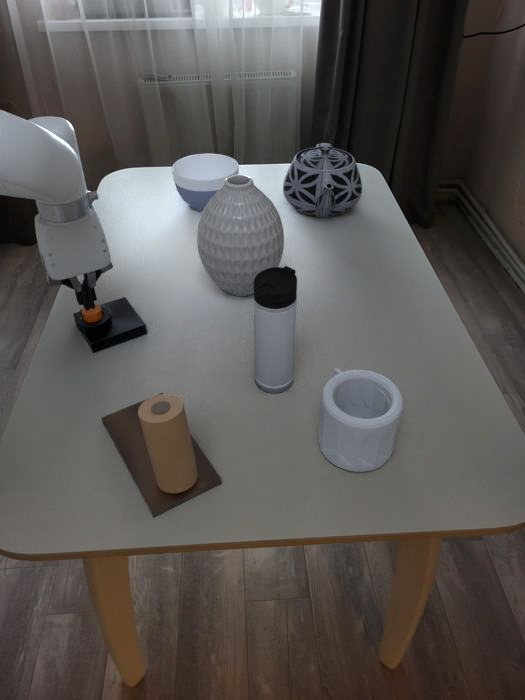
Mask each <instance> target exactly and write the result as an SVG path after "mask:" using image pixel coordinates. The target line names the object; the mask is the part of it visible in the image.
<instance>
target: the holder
mask: <svg viewBox="0 0 525 700" xmlns="http://www.w3.org/2000/svg"><path fill="white" fill-rule="evenodd" d="M160 394H164V392H160V393H159V394H157V395H160ZM149 398H150V397H148V398H146V399H144V400H141V401H139V402H135V403H134V404H131V405H129V406H126V407H124V408H122V409H119V410H117V411H115V412H114V411H113V412H112V413H110V414H106V415H105V416H102V417H101V422H102V424H103V426H104V427H105V430H106V432H107V433H108V435H109V438H110V439H111V442H112V443H113V445H114V447H115V449H116V451H117V453H118V454H119V457H120V458H121V460H122V462H123V464H124V465H125V467H126V469H127V471H128V473H129V475H130V477H131V479H132V481H133V482H134V484H135V486H136V489H137V490H138V492H139V494H140V495H141V498H142V499H143V502H144V503H145V505H146V507H147V509H148V511H149V513H150V514H151V516H152V518H153V519H155V518H156V517H158V516H160V515H162V514H164V513H166V512H168V511H170V510H173V509H174V508H176V507H178V506H180V505H182V504H184V503H186V502H188V501H190V500H193V499H194V498H197V497H198V496H200V495H202V494H204V493H206V492H208V491H211V490H212V489H214V488H216V487H218V486H221V485H222V478H221V477H220V475H219V474H218V472H217V471H216V469H215V468H214V466H213V464H212V463H211V462H210V460H209V459H208V458H207V456H206V454H205V453H204V452H203V450H202V449H201V447H200V445H199V444H198V443H197V441H196V440H195V438H194V437H193V435H192V434H191V433H190V437H191V441H192V446H193V451H194V456H195V460H196V465H197V470H198V479H197V481H196V483H195V484H194V485H193V486H192V487H191V488H189V489H188V490H186V491H183V492H180V493H167V492H164V491H162V490H161V489H160V488H159V487H158V485H157V482H156V478H155V475H154V471H153V467H152V464H151V460H150V456H149V453H148V449H147V445H146V442H145V438H144V434H143V430H142V427H141V423H140V419H139V416H138V409H139V407H140V405H141V404H142V403H143V402H144V401H146V400H147V399H149Z"/></svg>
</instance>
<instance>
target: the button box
mask: <svg viewBox="0 0 525 700" xmlns="http://www.w3.org/2000/svg"><path fill="white" fill-rule="evenodd" d="M98 305H99V306H100V308H101V312H102V318H101V319H100V320H99V321H96V322H85V321H84V318H83V315H82V309H83V308H81V309H80V310H78V311H77V312H73V313H72V316H73V319H74V324H75V327H76V329H77V331H78V332H79V333H81V335H82V336H83V338H84V340H85V342H86V343H87V345H88V347H89V349H90V350H91V352H92V354H95V353H99V352H101V351H104V350H107V349H110V348H112V347H115V346H118V345H121V344H124V343H127V342H129V341H132V340H134V339H137V338H141V337H143V336H145V335H148V330H147V324H146V323H145V322H144V320H143V319H142V318H141V316H140V315H139V314H138V312H137V310H136V309H135V308H134V307H133V305H132V304H131V302H130V301H129V299H128V298H127V297H126V296H123V297H119V298H116V299H114V300H110V301H107V302H104V303H101V304H98Z"/></svg>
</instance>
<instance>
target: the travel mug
mask: <svg viewBox="0 0 525 700" xmlns="http://www.w3.org/2000/svg"><path fill="white" fill-rule="evenodd" d="M253 285H254V294H252V295H253V297H252V300H253V303H252V305H253V306H252V308H253V311H252V312H253V352H254V353H253V360H254V361H253V363H254V364H253V367H254V383H255V385H256V386H257V388H258V389H260V391H263V392H265V393H268V394H269V393H270V394H280V393H283V392H285V391H287V390H288V389H290V388H291V387H292V385H293V382H294V370H295V369H294V367H295V364H294V363H295V349H296V348H295V345H296V326H297V325H296V324H297V323H296V322H297V306H298V305H297V301H298V295H297V294H298V293H297V292H298V276H297V275H296V269H294V268H292V267H290V266H288V265H284V266H283V267H280V266H278V267H273V268H268V269H265V270H263V271H261V272H260V273H259V274H257V275H256V277H255V279H254V282H253Z"/></svg>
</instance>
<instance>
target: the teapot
mask: <svg viewBox="0 0 525 700" xmlns="http://www.w3.org/2000/svg"><path fill="white" fill-rule="evenodd" d="M362 183H363V182H362V178H361V174H360V170H359V168H358V165H357V161H356V159H355V157H354V156H353V154H351V153H350V152H348V151H346V150H343V149H340V148H336V147H334V146H333V145H332V144H331V143H328V142H321V143H317V144H316V145H315V147H309V148H305V149H303V150H300V151H299V152H297V153H296V154H295V155H294V157H293V159H292V161H291V162H290V165H289V167H288V168H287V171H286V174H285V176H284V180H283V185H282V192H283V196H284V198H285V200H286V201H287V202H288V203H289V204H290V205H291V206H292V207H293V208H294V209H295V210H296V211H297V212H299V213H301V214H304V215H307V216H311V217H318V218H329V217H335V216H339V215H343V214H344V213H346V212H347V211H348V210H350V209H351V208H353V207H354V206H355V205H356V204H357V203H358V202H359V201H360V199H361V196H362V194H363V184H362Z"/></svg>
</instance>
